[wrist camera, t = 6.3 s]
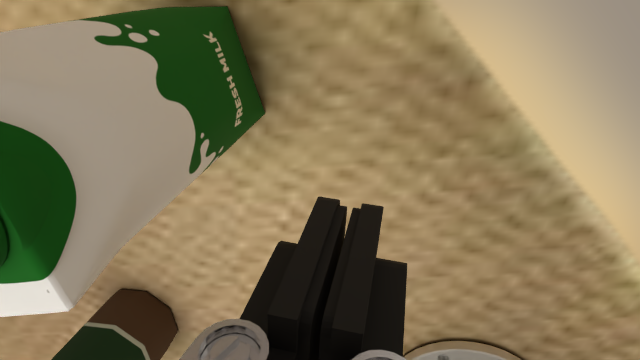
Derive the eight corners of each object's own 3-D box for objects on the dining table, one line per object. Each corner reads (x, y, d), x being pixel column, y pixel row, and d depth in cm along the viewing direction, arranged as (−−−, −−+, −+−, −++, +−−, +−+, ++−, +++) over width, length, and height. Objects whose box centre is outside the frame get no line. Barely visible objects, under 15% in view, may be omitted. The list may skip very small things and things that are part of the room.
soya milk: (282, 123, 27) (36, 392, 10) (173, 147, 30) (-162, 386, 13) (235, -16, 24) (-262, 32, 7) (117, 27, 27) (-439, 136, 10)
